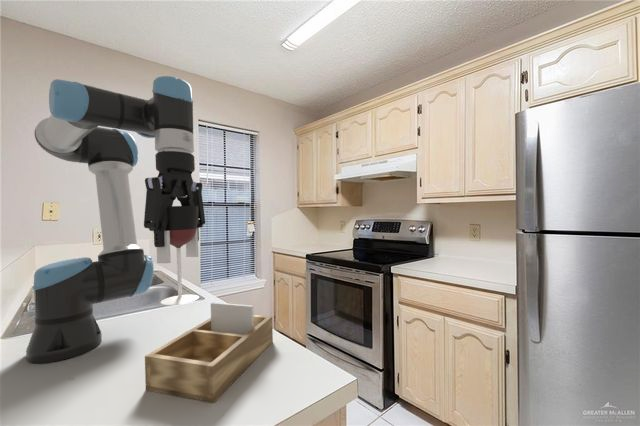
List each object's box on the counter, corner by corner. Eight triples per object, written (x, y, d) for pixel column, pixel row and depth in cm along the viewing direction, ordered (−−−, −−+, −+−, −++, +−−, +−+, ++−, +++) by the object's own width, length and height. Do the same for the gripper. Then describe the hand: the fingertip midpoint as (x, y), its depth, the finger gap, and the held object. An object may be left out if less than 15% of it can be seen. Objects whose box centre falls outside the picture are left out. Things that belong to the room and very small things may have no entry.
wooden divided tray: (145, 390, 60) (144, 356, 60) (221, 335, 85) (221, 311, 85) (213, 403, 55) (212, 366, 55) (272, 341, 80) (272, 316, 80)
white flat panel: (211, 344, 77) (210, 303, 77) (213, 343, 78) (212, 302, 78) (252, 350, 74) (251, 306, 74) (254, 348, 75) (253, 305, 74)
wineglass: (185, 306, 58) (181, 205, 58) (148, 304, 60) (145, 207, 60) (209, 294, 66) (206, 206, 66) (175, 293, 68) (172, 207, 68)
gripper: (148, 141, 52) (153, 269, 53) (219, 159, 72) (222, 253, 72) (117, 145, 55) (121, 268, 55) (194, 161, 74) (197, 252, 74)
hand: (179, 259), depth 63 cm, fingers closed on wineglass, 7 cm apart
